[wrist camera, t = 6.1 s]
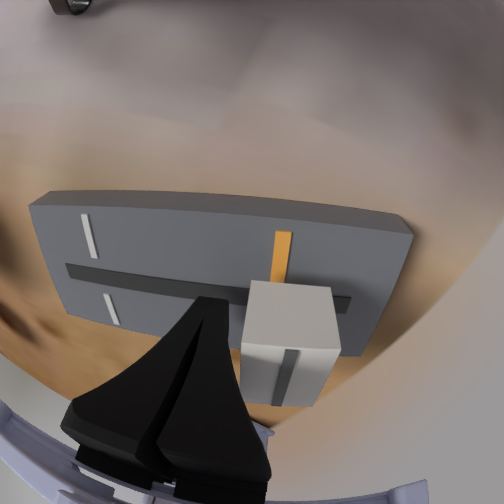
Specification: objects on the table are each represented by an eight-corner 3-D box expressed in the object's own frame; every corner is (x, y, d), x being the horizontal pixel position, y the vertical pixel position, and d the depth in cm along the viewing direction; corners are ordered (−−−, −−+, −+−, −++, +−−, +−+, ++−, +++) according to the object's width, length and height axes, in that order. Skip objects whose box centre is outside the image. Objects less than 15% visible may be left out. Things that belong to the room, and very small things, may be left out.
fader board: (397, 214, 12) (414, 236, 10) (355, 331, 16) (360, 357, 14) (49, 191, 13) (27, 206, 11) (80, 295, 17) (66, 314, 15)
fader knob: (327, 271, 11) (341, 352, 7) (309, 336, 13) (312, 408, 10) (253, 264, 11) (240, 344, 8) (249, 330, 13) (238, 403, 10)
